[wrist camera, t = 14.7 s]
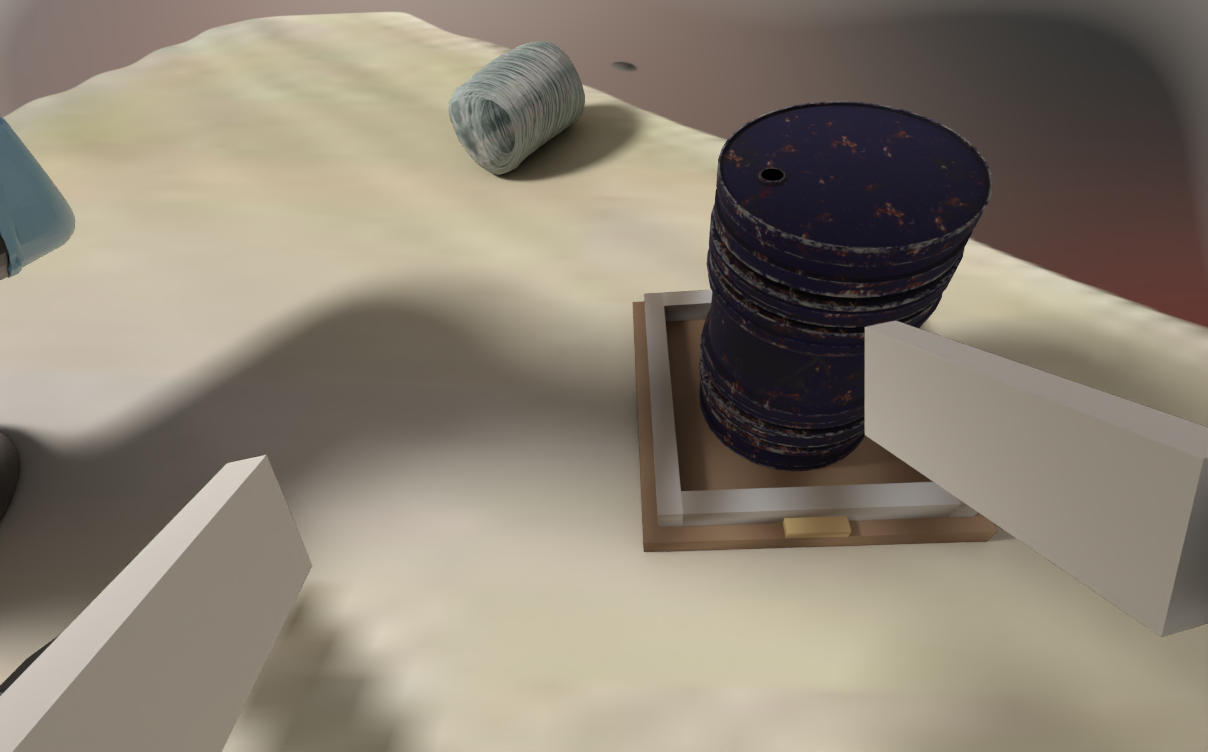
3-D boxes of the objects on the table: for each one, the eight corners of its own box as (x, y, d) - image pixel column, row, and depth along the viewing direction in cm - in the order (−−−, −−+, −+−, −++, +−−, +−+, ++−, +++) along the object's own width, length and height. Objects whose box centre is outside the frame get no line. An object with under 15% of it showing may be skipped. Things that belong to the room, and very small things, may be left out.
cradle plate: (644, 551, 29) (642, 531, 27) (633, 314, 40) (631, 286, 38) (986, 541, 28) (1012, 518, 26) (882, 299, 39) (895, 269, 36)
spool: (508, 172, 46) (465, 36, 42) (452, 188, 53) (411, 72, 49) (620, 139, 54) (592, 21, 50) (559, 157, 61) (530, 54, 57)
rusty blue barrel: (839, 326, 36) (924, 87, 24) (902, 461, 30) (1058, 231, 18) (683, 344, 36) (692, 116, 24) (714, 483, 30) (747, 268, 18)
